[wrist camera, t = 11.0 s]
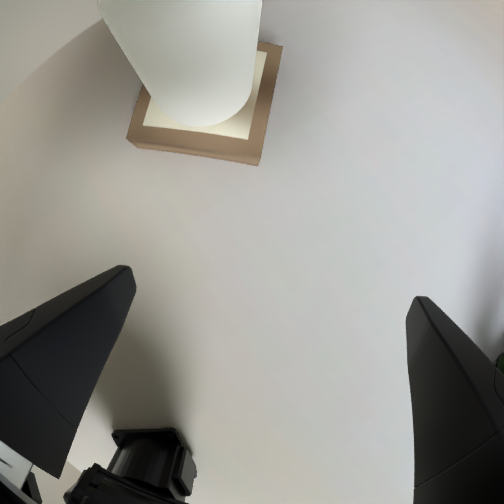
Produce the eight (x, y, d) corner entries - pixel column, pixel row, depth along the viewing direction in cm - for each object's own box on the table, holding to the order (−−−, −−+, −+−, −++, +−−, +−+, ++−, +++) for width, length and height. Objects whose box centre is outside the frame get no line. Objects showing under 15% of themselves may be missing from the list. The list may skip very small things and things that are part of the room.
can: (137, 92, 17) (57, -22, 5) (207, 36, 17) (189, -95, 5) (200, 149, 18) (147, 30, 6) (272, 86, 17) (309, -53, 5)
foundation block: (258, 166, 20) (260, 157, 18) (137, 148, 20) (125, 137, 17) (278, 63, 20) (283, 45, 17) (169, 49, 19) (162, 32, 17)
